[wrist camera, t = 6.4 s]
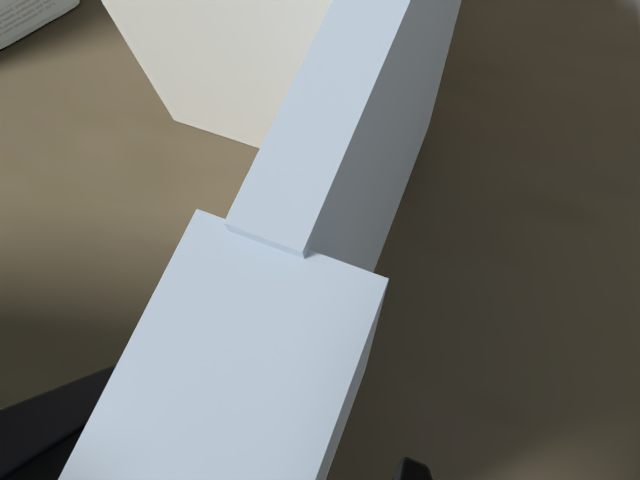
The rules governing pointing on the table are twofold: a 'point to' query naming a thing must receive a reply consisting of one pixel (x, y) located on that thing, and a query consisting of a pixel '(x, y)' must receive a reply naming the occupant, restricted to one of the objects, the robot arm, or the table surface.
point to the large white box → (220, 57)
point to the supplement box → (28, 16)
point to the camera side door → (280, 272)
